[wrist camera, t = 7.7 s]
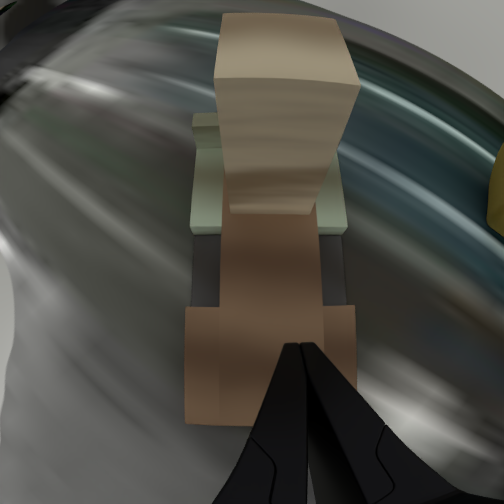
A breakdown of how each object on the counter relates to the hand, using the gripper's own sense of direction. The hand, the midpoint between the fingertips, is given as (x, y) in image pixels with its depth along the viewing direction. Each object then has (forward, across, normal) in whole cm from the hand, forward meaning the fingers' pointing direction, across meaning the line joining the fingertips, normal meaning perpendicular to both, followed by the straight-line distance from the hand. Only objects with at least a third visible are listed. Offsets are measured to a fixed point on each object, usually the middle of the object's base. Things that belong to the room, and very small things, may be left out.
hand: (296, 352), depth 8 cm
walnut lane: (+11, 0, +4) cm, 11 cm away
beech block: (+14, 0, -1) cm, 14 cm away
